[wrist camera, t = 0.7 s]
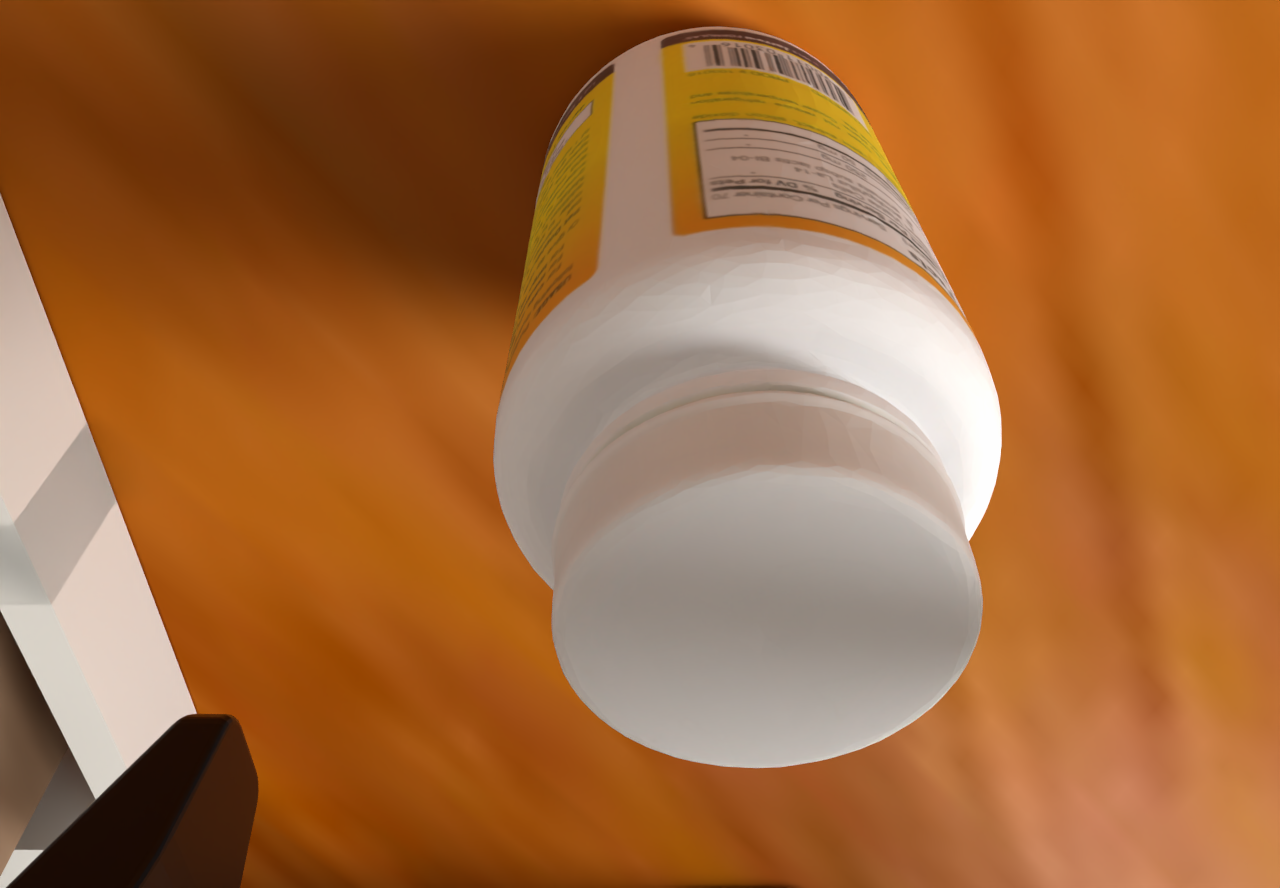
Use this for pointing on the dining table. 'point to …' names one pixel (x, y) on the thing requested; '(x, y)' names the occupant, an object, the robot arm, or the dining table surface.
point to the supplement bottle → (742, 412)
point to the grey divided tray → (71, 573)
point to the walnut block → (22, 744)
